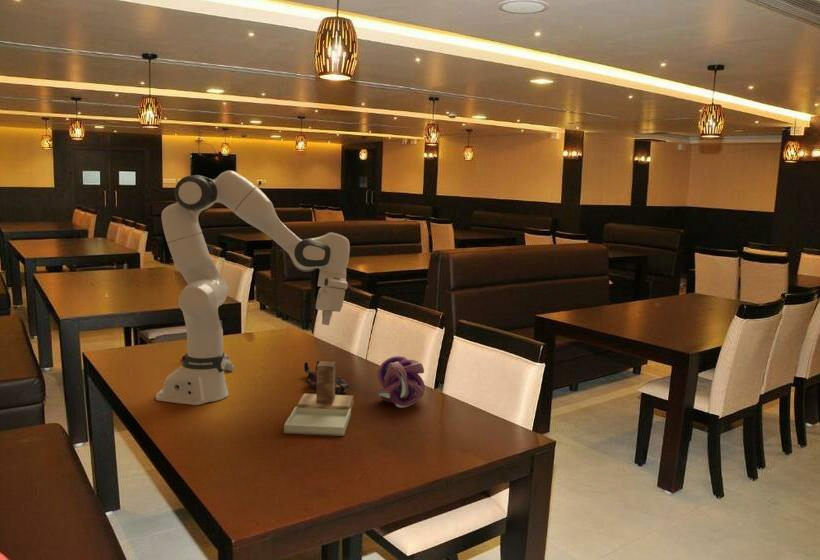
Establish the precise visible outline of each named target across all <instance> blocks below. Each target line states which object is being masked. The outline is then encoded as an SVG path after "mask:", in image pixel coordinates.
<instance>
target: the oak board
mask: <svg viewBox="0 0 820 560" xmlns="http://www.w3.org/2000/svg"><path fill="white" fill-rule="evenodd" d="M316 395H317V393H304V394H303V395H302V397H301V398H300V400H299V401H298V403H297V407H300V408H322V409H344V410H349V409H351V411H352V409H353V406H354V395H347V394H346V395H345V394H340V395H337V394H335V399H334V402H333V404H323V403H316Z"/></svg>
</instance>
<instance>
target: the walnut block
mask: <svg viewBox="0 0 820 560" xmlns="http://www.w3.org/2000/svg"><path fill="white" fill-rule="evenodd" d="M336 365H337V364H336V361H322V360H321V361H320V360H319V363H318V365H317V371H316V372H317V391H316V394H317V395H316V403H323V404H333V402H334V399H335V395H336V394H335V379H336Z"/></svg>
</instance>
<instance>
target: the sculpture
mask: <svg viewBox="0 0 820 560" xmlns="http://www.w3.org/2000/svg"><path fill="white" fill-rule="evenodd" d="M424 373H425V368H424V365H423V364H422V363H421V362H419V361H418V360H415V359H408V358H407V357H405V356H403V355H394V356H391V357H388V358H387V359H386V360H384V361H382V363H381V364H380V365H379V367H378V369H377V372H376V376H377V379H378V380H377V381H379V382H378V383H379V384H380V385H381V386H382V388H377V395H378V397H379V398H380V399H381V400H383V401H385V402H387V403H393V404H394V406H395V407H397V408H400V409H401V408H402V409H404V408H408V407H410V406H413V405H415V404H416V403H418V402H419V401H420V400H421V399H422V398H423V396H424V394H425V392H426V385H425V381H424V380H423V378H422V376H421V375H420V374H424Z"/></svg>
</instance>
